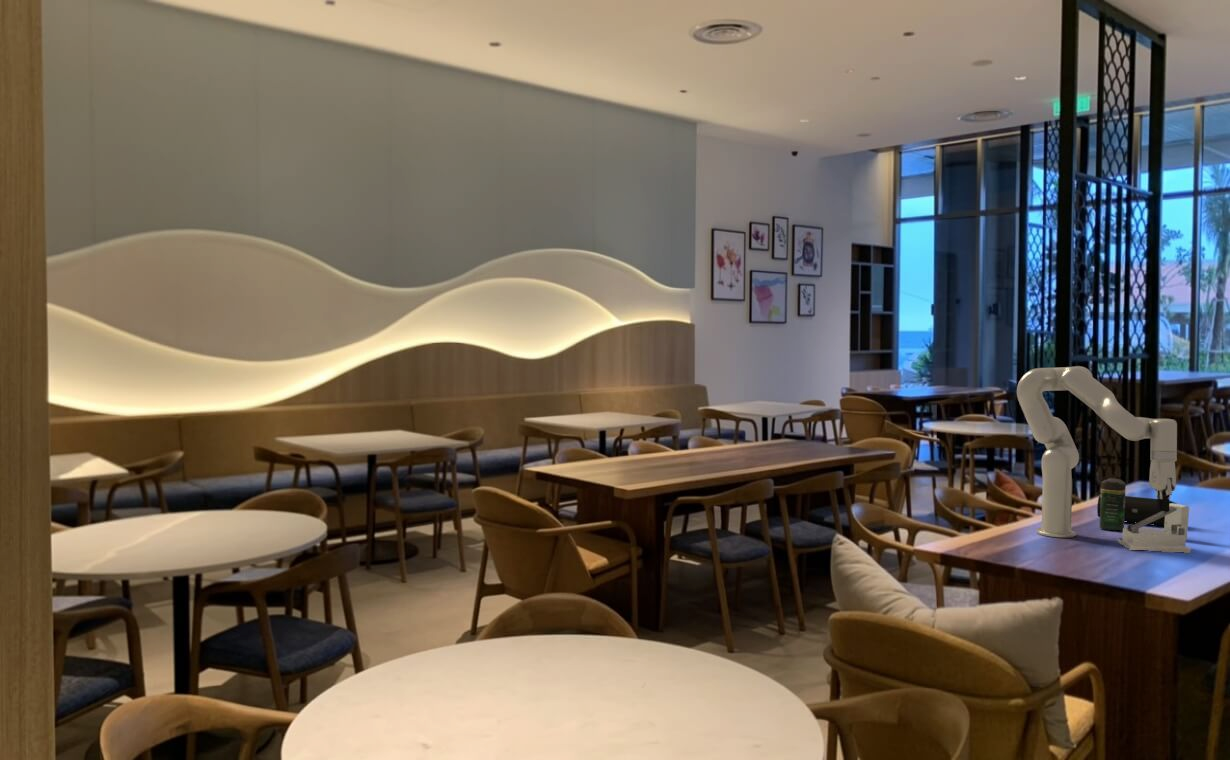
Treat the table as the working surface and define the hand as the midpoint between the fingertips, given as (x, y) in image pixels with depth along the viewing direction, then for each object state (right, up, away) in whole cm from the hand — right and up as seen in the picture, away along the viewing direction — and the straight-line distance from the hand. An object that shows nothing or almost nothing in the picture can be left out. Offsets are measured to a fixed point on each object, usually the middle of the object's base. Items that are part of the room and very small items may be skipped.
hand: (1163, 510), depth 302 cm
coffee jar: (0, -12, +31) cm, 33 cm away
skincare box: (+13, -12, +15) cm, 23 cm away
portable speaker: (+16, -11, +43) cm, 47 cm away
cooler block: (-3, -13, +1) cm, 13 cm away
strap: (-3, -3, +1) cm, 4 cm away
